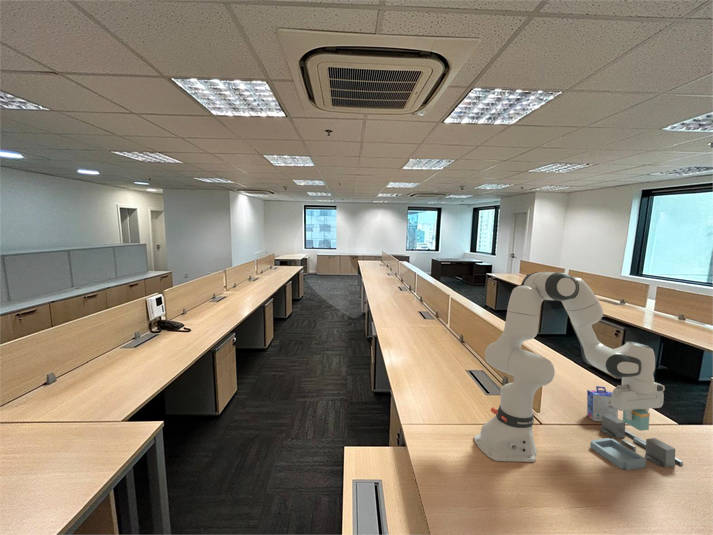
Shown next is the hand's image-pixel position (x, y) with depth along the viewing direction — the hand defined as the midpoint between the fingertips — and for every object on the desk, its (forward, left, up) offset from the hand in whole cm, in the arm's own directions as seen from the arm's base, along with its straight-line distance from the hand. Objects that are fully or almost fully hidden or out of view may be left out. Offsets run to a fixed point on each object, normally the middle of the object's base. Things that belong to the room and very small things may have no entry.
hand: (635, 418), depth 109 cm
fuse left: (+1, +8, -11) cm, 14 cm away
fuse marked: (0, 0, -3) cm, 3 cm away
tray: (-12, -3, -11) cm, 17 cm away
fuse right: (+1, -8, -11) cm, 14 cm away
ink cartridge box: (+7, +18, -12) cm, 22 cm away
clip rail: (+1, 0, -11) cm, 11 cm away
